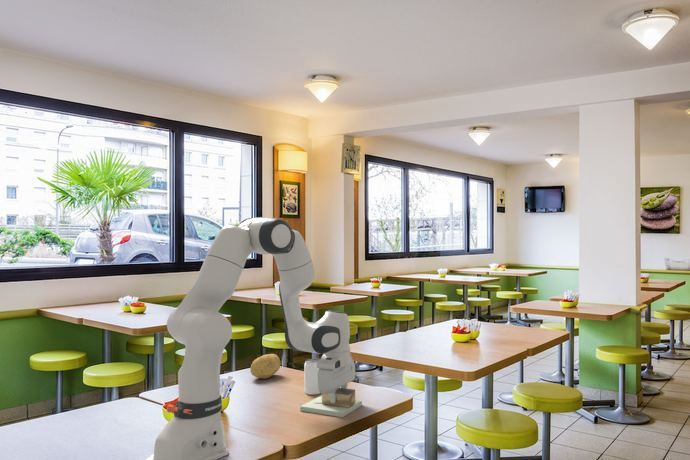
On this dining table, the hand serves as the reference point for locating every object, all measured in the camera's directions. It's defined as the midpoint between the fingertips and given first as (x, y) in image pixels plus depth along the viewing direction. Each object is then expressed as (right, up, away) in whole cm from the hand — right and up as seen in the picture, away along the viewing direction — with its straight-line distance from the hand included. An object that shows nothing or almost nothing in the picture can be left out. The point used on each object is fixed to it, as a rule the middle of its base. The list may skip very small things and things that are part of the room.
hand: (338, 399), depth 186 cm
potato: (-31, -4, +43) cm, 53 cm away
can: (-9, -4, +20) cm, 22 cm away
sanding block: (0, -1, 0) cm, 1 cm away
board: (-2, -3, +1) cm, 4 cm away
